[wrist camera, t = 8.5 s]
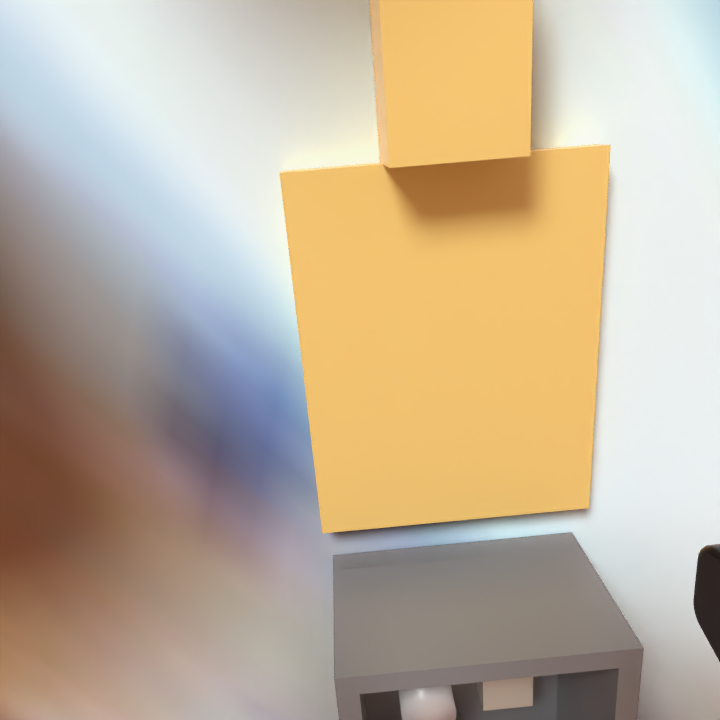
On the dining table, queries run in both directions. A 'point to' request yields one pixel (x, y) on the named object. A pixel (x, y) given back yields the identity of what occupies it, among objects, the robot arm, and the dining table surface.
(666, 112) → the dining table surface
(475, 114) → the lid
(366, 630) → the tub
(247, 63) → the dining table surface
